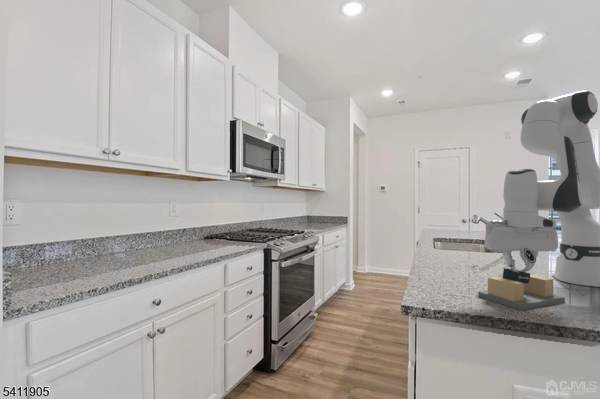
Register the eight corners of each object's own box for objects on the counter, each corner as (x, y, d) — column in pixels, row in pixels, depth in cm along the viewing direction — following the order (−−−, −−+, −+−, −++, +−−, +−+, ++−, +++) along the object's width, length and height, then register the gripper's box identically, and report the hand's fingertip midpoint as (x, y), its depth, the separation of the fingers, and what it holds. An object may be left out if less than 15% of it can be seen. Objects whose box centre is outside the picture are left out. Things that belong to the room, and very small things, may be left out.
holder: (519, 290, 102) (519, 271, 102) (564, 302, 90) (564, 280, 90) (478, 296, 95) (478, 276, 95) (520, 310, 83) (521, 286, 83)
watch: (522, 284, 88) (528, 248, 88) (497, 276, 96) (503, 242, 96) (535, 285, 90) (541, 249, 90) (510, 277, 98) (515, 244, 97)
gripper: (492, 221, 90) (491, 266, 90) (562, 221, 89) (562, 268, 89) (480, 219, 97) (480, 262, 97) (545, 220, 96) (545, 263, 96)
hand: (520, 265), depth 93 cm, fingers closed on watch, 4 cm apart
